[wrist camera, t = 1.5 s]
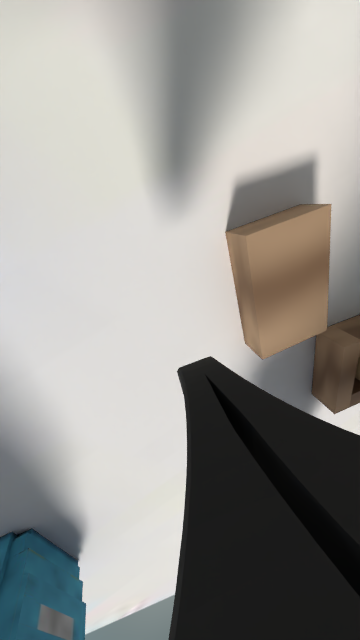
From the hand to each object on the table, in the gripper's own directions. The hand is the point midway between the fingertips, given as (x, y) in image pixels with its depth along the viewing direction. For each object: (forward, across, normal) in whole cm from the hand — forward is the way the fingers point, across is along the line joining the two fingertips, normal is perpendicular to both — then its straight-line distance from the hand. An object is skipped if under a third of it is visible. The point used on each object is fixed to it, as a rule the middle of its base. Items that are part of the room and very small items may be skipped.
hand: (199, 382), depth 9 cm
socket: (+6, -15, +9) cm, 19 cm away
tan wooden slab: (+7, -8, 0) cm, 10 cm away
